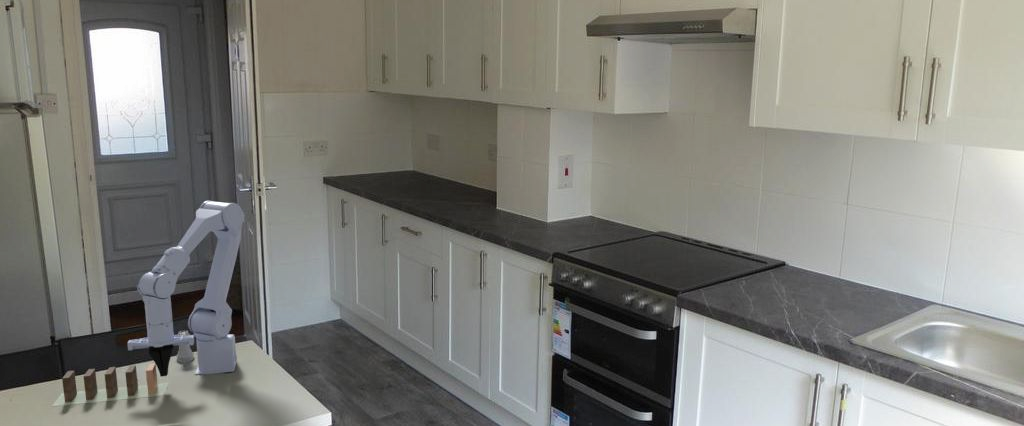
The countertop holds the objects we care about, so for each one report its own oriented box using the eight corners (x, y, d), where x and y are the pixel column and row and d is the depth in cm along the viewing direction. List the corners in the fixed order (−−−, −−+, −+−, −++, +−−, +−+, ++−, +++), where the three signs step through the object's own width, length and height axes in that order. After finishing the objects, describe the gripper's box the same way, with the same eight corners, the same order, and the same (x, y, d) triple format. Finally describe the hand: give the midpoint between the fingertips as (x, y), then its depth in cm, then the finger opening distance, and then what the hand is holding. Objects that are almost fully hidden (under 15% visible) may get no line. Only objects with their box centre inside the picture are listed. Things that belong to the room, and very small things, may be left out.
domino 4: (138, 388, 186) (135, 365, 185) (134, 395, 182) (131, 372, 181) (131, 388, 186) (129, 365, 185) (127, 396, 181) (125, 372, 180)
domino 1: (77, 394, 183) (74, 370, 182) (71, 401, 178) (68, 377, 177) (70, 394, 182) (67, 371, 181) (64, 402, 178) (62, 378, 177)
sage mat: (169, 383, 189) (169, 382, 189) (163, 396, 182) (163, 395, 182) (62, 394, 183) (62, 392, 183) (51, 407, 176) (51, 406, 176)
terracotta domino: (157, 386, 187) (155, 363, 186) (154, 393, 183) (152, 370, 182) (151, 386, 187) (149, 363, 186) (148, 394, 183) (145, 370, 181)
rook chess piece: (197, 357, 207) (194, 329, 205) (190, 363, 202) (188, 334, 201) (180, 357, 207) (178, 329, 205) (173, 363, 202) (171, 335, 201)
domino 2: (97, 392, 184) (95, 368, 183) (92, 399, 180) (90, 375, 178) (91, 392, 183) (88, 369, 182) (86, 400, 179) (83, 376, 178)
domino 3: (117, 390, 185) (115, 366, 184) (113, 397, 181) (111, 373, 180) (111, 390, 185) (109, 367, 183) (107, 398, 180) (104, 374, 179)
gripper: (122, 329, 177) (128, 384, 179) (189, 324, 180) (193, 378, 183) (129, 319, 183) (134, 372, 186) (193, 315, 187) (197, 367, 190)
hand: (164, 374), depth 185 cm, fingers closed
